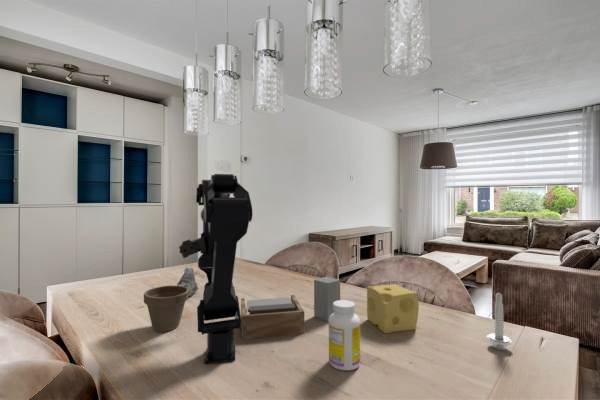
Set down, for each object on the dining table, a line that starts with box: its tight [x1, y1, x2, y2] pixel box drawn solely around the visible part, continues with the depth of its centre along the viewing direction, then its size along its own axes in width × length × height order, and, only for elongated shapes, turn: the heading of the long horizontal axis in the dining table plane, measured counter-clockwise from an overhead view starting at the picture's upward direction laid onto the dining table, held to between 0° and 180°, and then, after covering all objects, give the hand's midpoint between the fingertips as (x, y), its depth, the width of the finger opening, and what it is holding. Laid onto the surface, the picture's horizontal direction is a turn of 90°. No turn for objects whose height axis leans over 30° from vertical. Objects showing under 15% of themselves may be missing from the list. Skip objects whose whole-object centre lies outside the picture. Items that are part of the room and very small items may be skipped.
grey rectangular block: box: [313, 276, 341, 323], centre depth 92 cm, size 6×6×11 cm
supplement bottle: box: [328, 299, 361, 372], centre depth 66 cm, size 7×7×13 cm
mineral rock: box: [176, 267, 199, 297], centre depth 114 cm, size 13×11×10 cm
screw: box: [486, 292, 512, 351], centre depth 73 cm, size 13×5×5 cm
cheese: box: [366, 283, 420, 334], centre depth 87 cm, size 10×11×10 cm
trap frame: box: [240, 294, 305, 339], centre depth 87 cm, size 14×16×6 cm
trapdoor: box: [246, 297, 295, 314], centre depth 87 cm, size 12×13×3 cm
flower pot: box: [143, 285, 190, 333], centre depth 85 cm, size 12×11×10 cm
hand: (214, 287), depth 81 cm, fingers open, 9 cm apart
